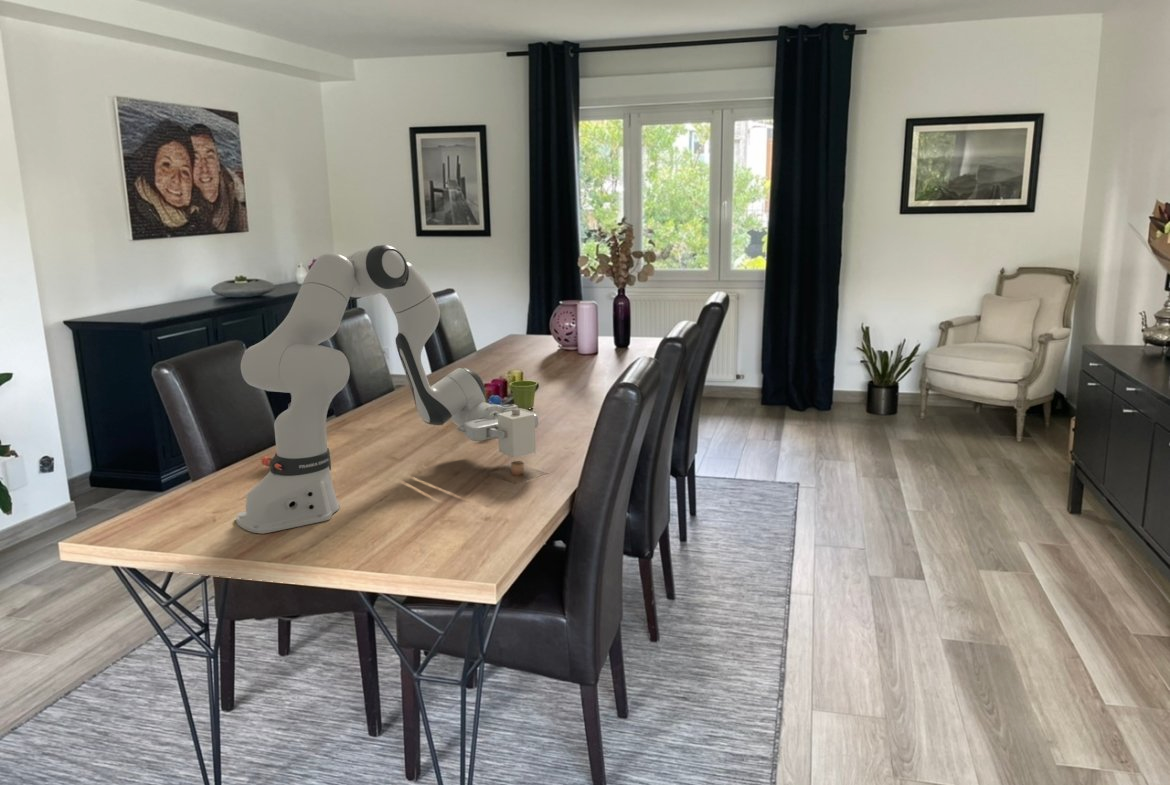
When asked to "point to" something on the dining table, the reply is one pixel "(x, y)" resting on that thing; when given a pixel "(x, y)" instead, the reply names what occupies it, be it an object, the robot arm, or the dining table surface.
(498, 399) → the blue bumpy lump
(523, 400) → the plant pot
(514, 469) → the brown short cylinder
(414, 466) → the dining table surface
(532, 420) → the cover
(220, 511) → the dining table surface
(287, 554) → the dining table surface
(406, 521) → the dining table surface
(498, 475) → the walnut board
